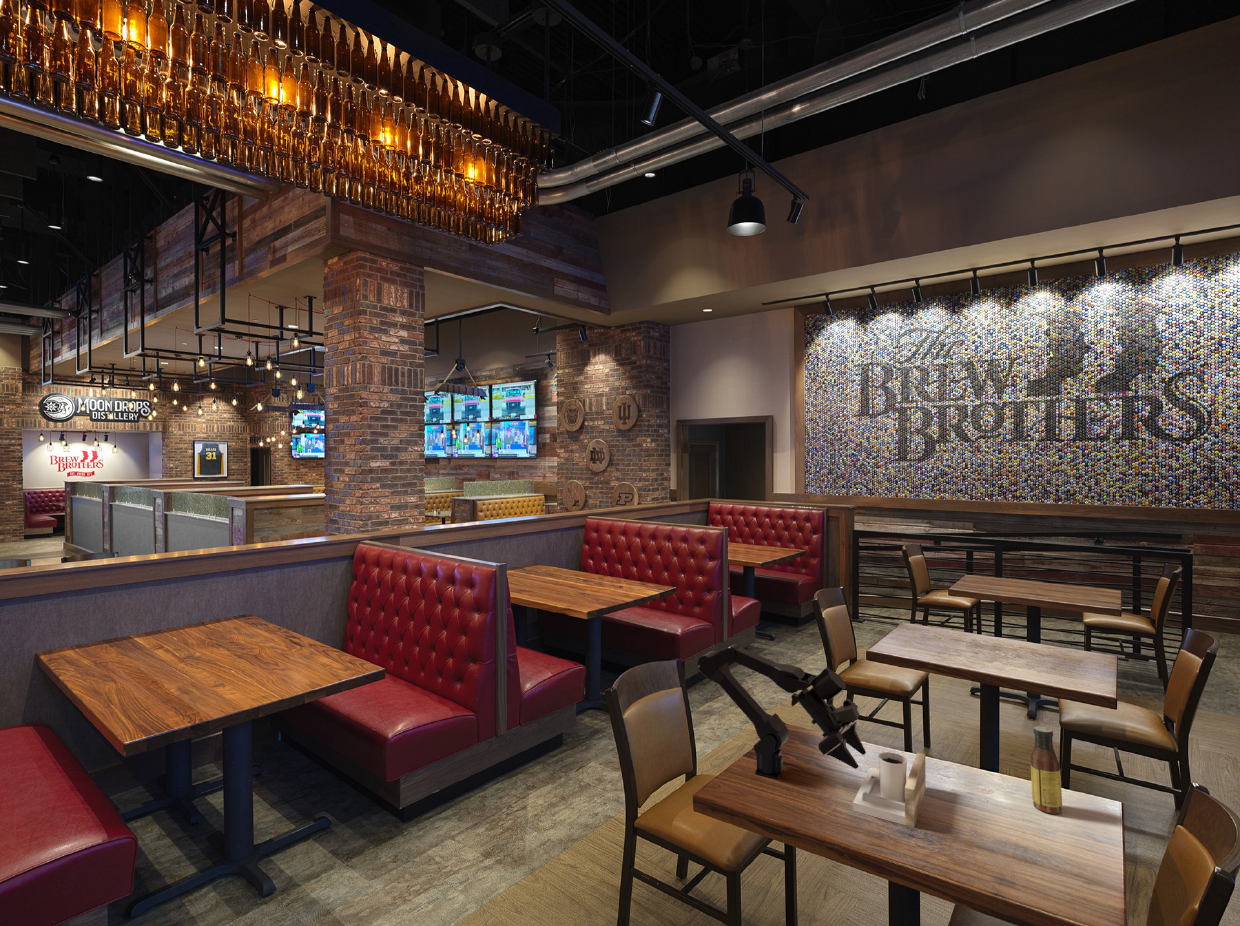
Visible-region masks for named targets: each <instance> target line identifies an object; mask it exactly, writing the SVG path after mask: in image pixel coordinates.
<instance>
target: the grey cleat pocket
mask: <svg viewBox="0 0 1240 926" xmlns="http://www.w3.org/2000/svg"><path fill="white" fill-rule="evenodd" d="M908 777H909V775H906V782H907V780H908ZM852 811H854V812H856V813H861V814H864V815H866V816H867V815H868V816H871V817H875V818H879V819H883V820H886V821H889V822H893V823H896V824H899V825H904V826H906V825H905V802H903V803H902V802H898V801H894V800H890V799H887V798H883V797H881V792H880V774H879V768H875V767H870V768H869V769H868V771H867V773H866V776H865V777H864V779H863V781H862V783H861V785H860V788H859V789H858V792H857V793H856V796H855V798H854V800H853V801H852Z"/></svg>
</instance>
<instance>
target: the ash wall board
mask: <svg viewBox="0 0 1240 926" xmlns="http://www.w3.org/2000/svg"><path fill="white" fill-rule="evenodd" d="M910 768H911V769H910V770H909V771H910V772H909V774H908V776H909V777H908V780H907V782H906V785H905V825H904V826H907V827H911V828H915V826H916V822H917V819H918V816H919V812H920V808H921V805H922V802H923V798H924V795H925V791H926V788H927V787H926V784H927V783H926V782H927V781H926V753H921V752H916V754H915V757H914V760H913V763H912V765H911V767H910Z"/></svg>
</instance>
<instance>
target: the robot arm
mask: <svg viewBox="0 0 1240 926" xmlns="http://www.w3.org/2000/svg"><path fill="white" fill-rule="evenodd" d="M730 662H734V663H736V664H739V665H741V666H743V667H745V668H747V669H749V670H751V671H753V672H756V673H757V674H760V675H763V676H764V677H767V678H768V679H770V680H772V682H773V683H774V684H775V686H777V687H779V688H780V689H781V690H783V691H785V692H786V693H789V694H791V695H790V696H791V697H790V698H791V704H790V705H791V707H795V706H796V705H797V704H798V703H799V705H800V706H801V707H802V708H803V709H804V711H805V712H806V713H807V715H809V717H810V718H811V719H812V720H811V724H812V725H814V726H815V725H817V726H818V728H819V729H820V730H821V731H822V732H823V733H822V734H821V736H822V737H823V738H822V739H821V740H820V741H819V743H818V750H819V751H820V753H822V755H823V756H825V755H826V756H827V757H829V756H830V757H832V758H834V759H836V760H838V761H840V762H842V763H844V764H846V765H847V766H849V767H851V768H853V769H855V770H857V769H858V768H860V767H859V764H858V763H857V761H856V759H855V758H854V756H853V755H852V754H851V752H850V750H849V748H848V747H847V745H849V746H850V747H851V748H852V749H854V750H855V751H857V753H859V754H861V755H862V756H865V754H867V750H866V749H865V748H864V745H863V743H862V742H861V739H860V737H859V735H858V733H857V724H858V723H857V721H858V720H859V717H860V716H861V715H860V712H859V710H858V708H859V706H858V705H857V704H856V702H853V701H852V700H851V699H850V698H847V699H845V700H844V701H843V702H842V705H840V706H839V707H835V705H834V704H831V703H830V704H828V703H827V701H832V700H833V699H834V698H835V697H836V696H837V695H839V694H840V693H841V692H842V691H844V690H846V688H847V685H846V683H845V681H844V680H843V678H842V677H841V675H840V674H838V673H837V672H835V671H834V670H832V669H830V668H829V666H826V667H825V668H824V669H823V670H822V671H821V672H820V673H819V674H817V675H815V674H813V673H810V672H807V671H804V669H802V668H801V667H799V666H796V665H791V664H787V663H778V662H776V661H773V660H771V659H768V658H766V657H765V656H761V655H759V654H758V653H755V652H752V651H750V650H748V649H745V648H744V647H741V646H740V645H739V644H736V643H734V644H731V645H730V646H728V647H726V648H723V649H722V650H719V651H718V650H711V651H709V652H707V653H706V654H704V655H702V656H700V657H699V659H698V660H697V669H698V670H699V672H700V673H701V674H702V675H703V676H704V677H706V679H707V680H709V681H711V682H713V683H715V684H717V685H719V686H720V687H721V689H722V690H723V691H724V692H725V693H726V694H727V695H728V697H729V698H730V699H731V700H732V701H733V703H735V705H736V706H737V708H739V709H740V710H741V712H742V713H743V714H744V715H745V716H746V717H747V719H748V720H749V721H750V722H751V723H752V724H753V726H754V729H755V732H756V735H757V737H758V739H759V740H758V741H757V742H755V743H754V745H753V746H752V747H753V750H754V753H755V754H756V769H755V771H754V774H755V775H759V776H763V777H768V778H772V779H779V777H780V776H781V774H782V773H783V771H784V756H783V755H782V750H781V749H780V748H781V747H783V746H784V744H785V743H787V741H788V739H789V736H790V735H789V734H790V733H789V729H788V728H787V726H786V725H787V723H786V722H785V721H783V719H781V718H780V716H779V714H777V713H776V712H775V713H774V714H772V715H771V714H770V713H767V712H766V711H765V710H764V709H763V708H762V706H760V704H759V703H758V702H757V701H756V700H755V699H754V698H753V697H752V695H751V694H750V693H749V691H747V690H746V689H745V688H744V687H743V686H742V684H741V683H740V682H739V681H738V680H737V679H736V678H735V677H734V675H733V674H732V673H731V670H730V668H729V664H728V663H730ZM810 687H811V688H810ZM809 688H810V689H809ZM798 691H799V692H798ZM797 692H798V693H797Z"/></svg>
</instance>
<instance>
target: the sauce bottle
mask: <svg viewBox="0 0 1240 926" xmlns="http://www.w3.org/2000/svg"><path fill="white" fill-rule="evenodd" d="M1033 734H1034V746H1033V748H1032V749H1031V751H1030V777H1031V779H1030V780H1031V797H1032V798H1031V799H1032V802H1033V806H1034V808H1036V810H1037V809H1038V810H1039V811H1041V812H1043V813H1047V814H1051V815H1057V814H1058V815H1059V814H1060V813H1062V811H1063V809H1062V805H1063V796H1062V795H1063V794H1062V793H1063V792H1062V780H1061V779H1062V778H1061V777H1062V776H1061V765H1060V762H1059V759H1058V757H1057V755H1056V752H1055V749H1054V745H1053V743H1054V742H1053V737H1054V732H1053V730H1052V728H1049V727H1047V726H1041V725H1036V726H1034V727H1033Z"/></svg>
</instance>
